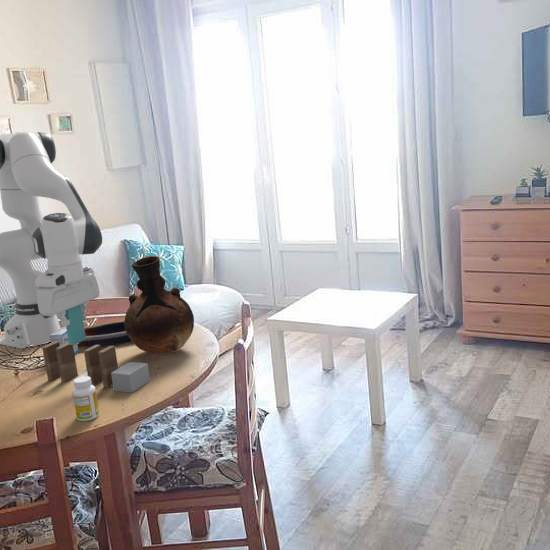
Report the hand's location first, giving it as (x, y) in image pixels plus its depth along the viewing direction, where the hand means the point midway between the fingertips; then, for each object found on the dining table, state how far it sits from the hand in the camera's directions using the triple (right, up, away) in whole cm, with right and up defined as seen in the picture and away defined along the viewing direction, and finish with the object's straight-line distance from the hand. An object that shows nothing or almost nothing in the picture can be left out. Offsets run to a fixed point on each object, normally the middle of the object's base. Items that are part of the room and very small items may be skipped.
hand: (74, 322), depth 174 cm
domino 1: (-8, -16, +8) cm, 20 cm away
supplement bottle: (+10, -22, -20) cm, 31 cm away
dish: (0, -9, +39) cm, 40 cm away
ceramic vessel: (+21, -11, +22) cm, 32 cm away
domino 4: (+6, -17, +2) cm, 18 cm away
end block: (+17, -17, -3) cm, 24 cm away
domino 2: (+1, -6, +1) cm, 6 cm away
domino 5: (+10, -17, 0) cm, 20 cm away
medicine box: (-11, -13, +26) cm, 30 cm away
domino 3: (-3, -16, +6) cm, 18 cm away
